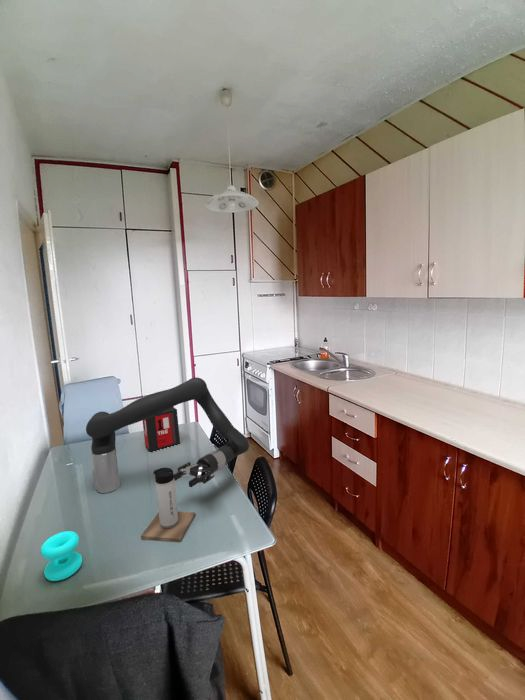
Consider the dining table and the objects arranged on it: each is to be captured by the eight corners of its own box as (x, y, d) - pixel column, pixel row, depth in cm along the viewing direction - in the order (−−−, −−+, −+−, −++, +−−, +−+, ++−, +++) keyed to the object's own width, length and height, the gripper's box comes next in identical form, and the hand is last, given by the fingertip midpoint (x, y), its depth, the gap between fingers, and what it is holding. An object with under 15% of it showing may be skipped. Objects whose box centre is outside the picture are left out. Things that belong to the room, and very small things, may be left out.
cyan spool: (58, 527, 110) (85, 530, 108) (62, 556, 111) (90, 559, 109) (31, 550, 100) (61, 554, 98) (36, 581, 102) (66, 585, 100)
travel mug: (161, 518, 126) (155, 466, 122) (179, 516, 126) (174, 465, 123) (157, 530, 119) (151, 475, 116) (176, 528, 120) (171, 474, 117)
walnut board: (141, 539, 117) (140, 536, 117) (160, 513, 131) (159, 510, 130) (180, 542, 115) (180, 539, 114) (195, 515, 128) (195, 512, 128)
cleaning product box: (175, 439, 199) (171, 405, 195) (180, 444, 191) (176, 409, 188) (145, 447, 190) (141, 412, 187) (149, 452, 183) (145, 416, 179)
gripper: (198, 449, 143) (167, 467, 130) (224, 457, 135) (194, 476, 121) (199, 467, 144) (169, 485, 131) (226, 475, 136) (196, 496, 123)
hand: (181, 481), depth 126 cm, fingers open, 8 cm apart
